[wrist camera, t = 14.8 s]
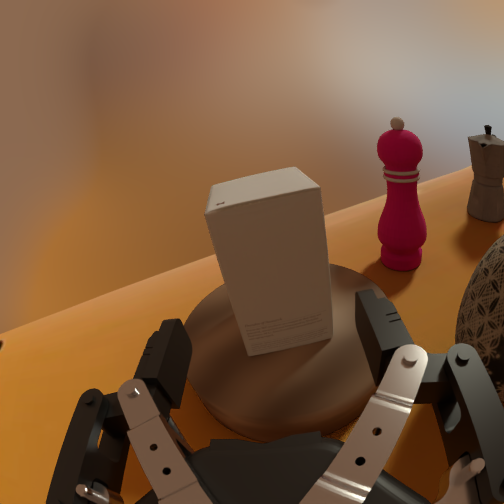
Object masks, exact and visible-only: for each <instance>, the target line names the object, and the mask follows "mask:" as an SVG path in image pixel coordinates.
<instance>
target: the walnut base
mask: <svg viewBox="0 0 504 504" xmlns="http://www.w3.org/2000/svg"><path fill="white" fill-rule="evenodd" d="M329 269H330V281H331V295H332V311H333V337H332V338H329V339H326V340H322V341H319V342H315V343H311V344H307V345H302V346H298V347H294V348H289V349H285V350H280V351H275V352H270V353H265V354H260V355H255V356H248V354H247V351H246V348H245V345H244V342H243V339H242V336H241V332H240V329H239V326H238V323H237V320H236V317H235V314H234V311H233V308H232V305H231V302H230V298H229V295H228V292H227V289H226V286H225V283H224V284H223V285H221V286H220V287H218V288H217V289H215V290H214V291H213V292H211V293H210V294H209V295H207V296H206V297H205V298H204V299H203V300H202V301H201V302H200V303H199V304H198V305H197V306H196V307H195V309H194V310H193V311H192V313H191V314H190V315H189V317H188V319H187V320H186V322H185V324H184V328H185V330H186V332H187V334H188V336H189V338H190V340H191V343H192V357H191V361H190V365H189V369H188V374H187V378H188V380H189V382H190V383H191V385H192V386H193V388H194V390H195V391H196V393H197V394H198V396H199V397H200V399H201V400H202V402H203V404H204V405H205V407H206V408H207V410H208V411H209V412H210V413H211V414H212V415H213V417H214V418H215V419H216V420H217V421H219V422H220V423H221V424H222V425H224V426H225V427H226V428H228V429H230V430H232V431H234V432H235V433H237V434H239V435H242V436H245V437H247V438H250V439H254V440H259V441H263V442H272V441H275V440H278V439H281V438H284V437H288V436H290V435H295V434H303V433H310V432H316V431H320V433H321V437H322V436H325V435H328V434H330V433H332V432H334V431H336V430H338V429H340V428H342V427H344V426H346V425H347V424H349V423H350V422H352V421H353V420H354V419H356V418H357V417H358V416H359V415H360V414H362V413H363V411H364V409H365V407H366V405H367V404H368V402H369V400H370V398H371V396H372V395H373V394H375V393H376V391H377V389H378V387H379V386H377V387H376V386H375V383H374V380H373V377H372V373H371V370H370V367H369V364H368V361H367V358H366V355H365V352H364V349H363V346H362V343H361V340H360V338H359V335H358V332H357V329H356V324H355V292H356V291H361V290H366V289H371V288H372V289H373V291H374V293H375V295H376V296H377V298H378V299H379V298H383V297H385V298H386V299H388V298H387V297H386V295H385V294H384V292H383V291H382V290H381V289H380V288H379V287H378V286H377V285H376V284H375V283H374V282H372V281H371V280H370V279H368V278H367V277H365V276H364V275H362V274H360V273H358V272H356V271H354V270H351V269H348V268H345V267H342V266H338V265H334V264H329Z"/></svg>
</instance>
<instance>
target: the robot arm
mask: <svg viewBox="0 0 504 504" xmlns="http://www.w3.org/2000/svg"><path fill="white" fill-rule="evenodd" d="M355 324H356V329H357V332H358V335H359V338H360V340H361V343H362V346H363V349H364V352H365V355H366V358H367V361H368V364H369V367H370V370H371V373H372V377H373V380H374V383H375V386H376V387H377V386H379V387H378V389H377V391H376V393H375V394H373V395H372V396H371V398H370V400H369V402H368V404H367V405H366V407H365V409H364V411H363V413H362V415H361V416H360V418H359V420H358V422H357V423H356V425H355V427H354V428H353V430H352V432H351V433H350V435H349V437H348V438H347V440H346V442H342V441H340V440H336V439H332V438H325V437H321V433H320V431H316V432H310V433H303V434H295V435H290V436H288V437H284V438H281V439H278V440H275V441H272V442H269V443H264V444H262V443H255V442H249V441H244V440H239V439H211V441H210V446H208V447H205V448H202V449H200V450H198V451H196V452H194V450H193V449H192V448H191V447H190V446H189V444H188V443H187V441H186V440H185V438H184V437H183V435H182V433H181V432H180V430H179V429H178V427H177V425H176V424H175V422H174V420H173V419H172V417H171V416H170V414H169V413H170V409H180V404H181V400H182V395H183V391H184V387H185V382H186V378H187V374H188V369H189V365H190V361H191V357H192V343H191V340H190V338H189V336H188V334H187V332H186V330H185V328H184V326H183V324H182V322H181V320H180V319H168V320H163V322H162V324H161V326H160V329H159V331H155V332H154V333H153V335H152V336H151V337H150V338H149V339H148V342H147V344H146V347H145V348H146V349H144V352H143V356H142V357H141V359H140V362H139V364H138V367H137V370H136V372H135V375H134V378H133V379H131V380H128V381H126V382H125V383H123V384H122V385H121V387H120V388H119V390H118V392H115V393H111V394H107V395H103V394H102V392H101V391H100V390H98V389H89V390H87V391H86V392H84V393H83V394H82V395H81V397H80V399H79V401H78V403H77V406H76V409H75V411H74V414H73V417H72V419H71V422H70V425H69V427H68V430H67V433H66V436H65V439H64V442H63V445H62V448H61V451H60V454H59V457H58V460H57V464H56V467H55V470H54V474H53V477H52V481H51V484H50V488H49V492H48V496H47V500H46V504H124V501H123V499H122V497H121V496H120V491H121V486H122V480H123V475H124V470H125V465H126V460H127V455H128V451H129V446H130V442H131V444H132V446H133V449H134V451H135V453H136V455H137V458H138V460H139V462H140V464H141V466H142V468H143V470H144V472H145V474H146V476H147V478H148V480H149V482H150V484H151V486H152V488H153V489H152V490H150V491H149V492H148V493H147V494H146V495H145V496H143V497H142V498H141V499H140V500H139V501H137V502H136V503H135V504H431V503H430V502H429V501H428V500H427V499H426V498H424V497H423V496H421V495H420V494H418V493H417V492H415V491H414V490H412V489H410V488H409V487H407V486H406V485H404V484H403V483H402V482H400V481H399V480H397V479H396V478H394V477H393V476H391V475H390V474H389V473H387V472H386V471H384V470H383V467H384V466H385V464H386V462H387V460H388V458H389V456H390V454H391V452H392V450H393V448H394V446H395V444H396V442H397V440H398V438H399V436H400V434H401V431H402V429H403V427H404V425H405V422H406V420H407V418H408V415H409V413H410V411H411V408H412V405H413V404H428V403H432V406H433V409H434V412H435V415H436V419H437V422H438V425H439V429H440V432H441V436H442V440H443V443H444V447H445V451H446V455H447V459H448V464H449V468H448V469H447V470H446V471H445V472H444V473H443V475H442V476H441V478H440V481H439V493H438V496H437V498H436V499H435V501H434V502H433V503H432V504H503V503H504V408H503V406H502V403H501V401H500V399H499V396H498V394H497V392H496V390H495V387H494V385H493V383H492V381H491V379H490V377H489V375H488V373H487V371H486V369H485V367H484V365H483V363H482V361H481V359H480V357H479V355H478V353H477V351H476V350H475V349H474V348H473V347H472V346H470V345H468V344H464V343H460V344H456V345H454V346H452V347H451V348H450V349H449V351H448V353H445V354H430V353H426V352H425V350H424V349H422V348H421V347H419V346H417V345H415V344H414V342H413V340H412V338H411V337H410V335H409V333H408V331H407V329H406V327H405V325H404V323H403V321H402V320H401V317H400V316H399V314H398V313H397V310H396V308H395V306H394V305H393V303H392V302H390V301H389V300H388V299H386V298H385V297H383V298H379V299H378V298H377V296H376V295H375V293H374V291H373V289H372V288H371V289H366V290H361V291H356V292H355ZM101 429H102V430H103V434H102V438H101V441H100V445H99V448H98V447H97V442H98V439H99V435H100V432H101Z"/></svg>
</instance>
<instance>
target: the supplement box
mask: <svg viewBox="0 0 504 504" xmlns="http://www.w3.org/2000/svg"><path fill="white" fill-rule="evenodd" d="M204 215H205V219H206V222H207V225H208V229H209V233H210V236H211V240H212V243H213V246H214V250H215V253H216V256H217V260H218V263H219V266H220V270H221V273H222V276H223V279H224V282H225V286H226V289H227V292H228V295H229V298H230V302H231V305H232V308H233V311H234V314H235V317H236V320H237V323H238V326H239V329H240V332H241V336H242V339H243V342H244V345H245V348H246V351H247V354H248V356H255V355H260V354H265V353H270V352H275V351H280V350H285V349H289V348H294V347H298V346H302V345H307V344H311V343H315V342H319V341H322V340H326V339H329V338H332V337H333V311H332V295H331V281H330V269H329V259H328V248H327V239H326V229H325V220H324V212H323V205H322V197H321V188H320V186H319V185H317V184H316V183H315V182H314V181H312V180H311V179H309V177H307V176H306V175H305V174H304V173H302V172H301V171H300V170H299V169H298V168H296V167H291V168H285V169H279V170H275V171H269V172H265V173H261V174H256V175H252V176H247V177H243V178H239V179H235V180H231V181H227V182H223V183H220V184H216V185H213V186H212V187H211V190H210V194H209V198H208V203H207V206H206V210H205V214H204Z"/></svg>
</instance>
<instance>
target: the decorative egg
mask: <svg viewBox="0 0 504 504" xmlns="http://www.w3.org/2000/svg"><path fill="white" fill-rule="evenodd" d="M460 343H464V344H468V345H470V346H472V347H473V348H474V349H475V350H476V351H477V353H478V355H479V357H480V359H481V361H482V363H483V365H484V367H485V369H486V371H487V373H488V375H489V377H490V379H491V381H492V383H493V385H494V387H495V390H496V392H497V394H498V396H499V399H500V401H501V402H504V235H503V236H501V237H500V238H499V239H498V240H497V241H496V242H495V243H494V244H493V245H492V246H491V247H490V248H489V249H488V251H487V252H486V253H485V255H484V256H483V257H482V259H481V260H480V262H479V264H478V265H477V267H476V269H475V271H474V273H473V274H472V277H471V279H470V281H469V283H468V286H467V288H466V290H465V293H464V296H463V299H462V302H461V305H460V309H459V313H458V318H457V325H456V334H455V344H460Z"/></svg>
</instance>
